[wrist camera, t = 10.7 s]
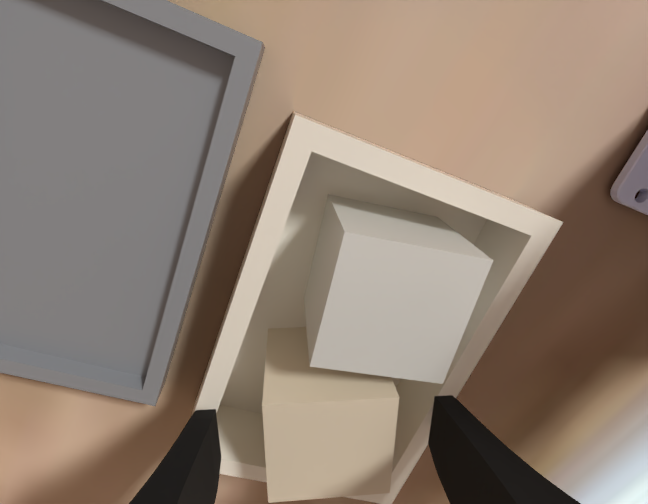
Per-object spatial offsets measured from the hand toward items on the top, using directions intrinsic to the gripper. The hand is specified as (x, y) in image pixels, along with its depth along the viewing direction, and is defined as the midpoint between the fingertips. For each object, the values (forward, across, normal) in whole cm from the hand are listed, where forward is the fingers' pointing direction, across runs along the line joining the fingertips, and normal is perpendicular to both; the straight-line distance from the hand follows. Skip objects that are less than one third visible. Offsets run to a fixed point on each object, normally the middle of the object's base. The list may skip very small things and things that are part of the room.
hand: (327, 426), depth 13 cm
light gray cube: (+3, -2, -5) cm, 6 cm away
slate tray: (+4, +8, -7) cm, 11 cm away
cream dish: (+4, -1, -2) cm, 4 cm away
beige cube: (+3, 0, 0) cm, 3 cm away
